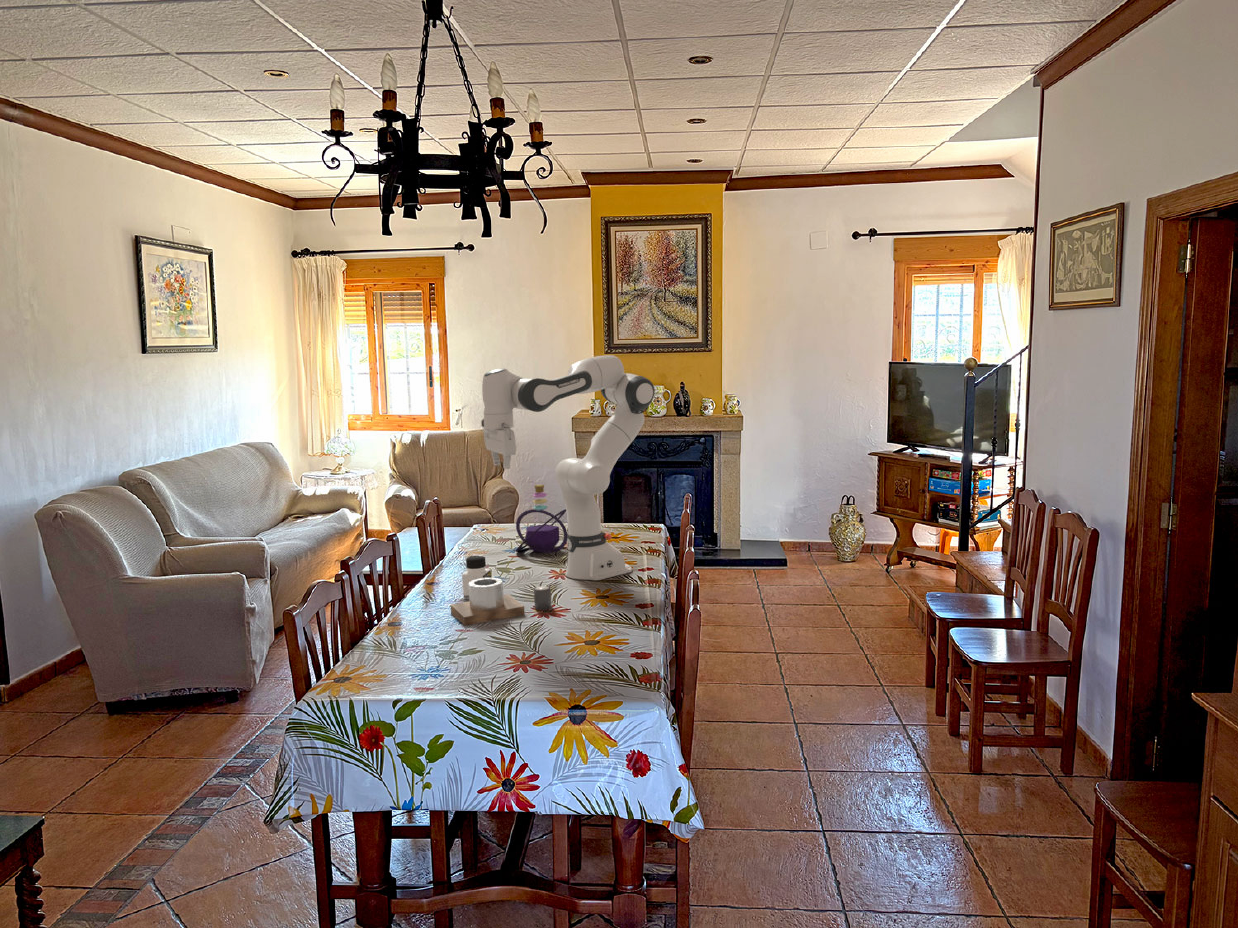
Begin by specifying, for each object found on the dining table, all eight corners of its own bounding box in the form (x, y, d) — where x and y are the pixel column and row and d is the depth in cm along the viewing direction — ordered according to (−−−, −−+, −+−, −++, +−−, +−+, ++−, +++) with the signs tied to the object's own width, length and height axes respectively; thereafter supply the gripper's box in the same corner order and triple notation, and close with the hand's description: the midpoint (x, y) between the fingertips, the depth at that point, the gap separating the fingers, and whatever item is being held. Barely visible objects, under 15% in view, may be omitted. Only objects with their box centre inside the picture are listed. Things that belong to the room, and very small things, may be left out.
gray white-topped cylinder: (547, 604, 266) (546, 584, 265) (554, 608, 262) (553, 588, 261) (532, 606, 264) (531, 587, 263) (538, 611, 260) (537, 591, 259)
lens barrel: (497, 598, 266) (495, 575, 264) (507, 606, 257) (506, 583, 256) (466, 603, 261) (464, 581, 260) (476, 612, 253) (474, 588, 252)
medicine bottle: (484, 596, 277) (482, 559, 275) (463, 596, 278) (460, 559, 276) (492, 589, 284) (490, 553, 282) (471, 589, 285) (468, 553, 283)
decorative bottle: (527, 542, 346) (524, 479, 343) (578, 543, 341) (575, 480, 337) (505, 557, 325) (501, 490, 321) (559, 558, 319) (555, 490, 316)
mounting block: (508, 602, 270) (508, 594, 269) (524, 614, 257) (524, 606, 257) (451, 612, 262) (450, 604, 261) (464, 625, 249) (464, 617, 249)
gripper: (519, 424, 263) (522, 469, 265) (498, 419, 281) (501, 462, 283) (499, 425, 260) (502, 472, 262) (479, 420, 278) (482, 464, 280)
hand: (501, 466), depth 273 cm, fingers open, 8 cm apart
